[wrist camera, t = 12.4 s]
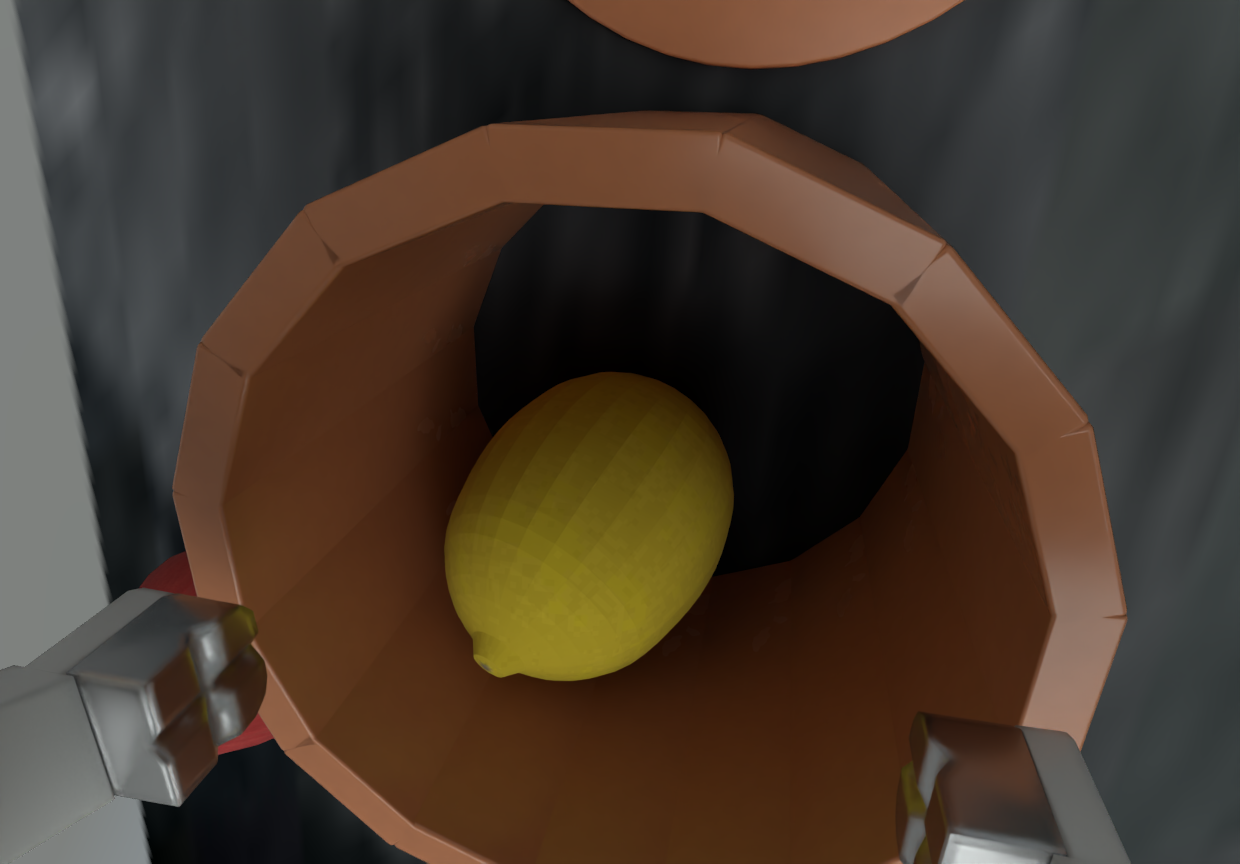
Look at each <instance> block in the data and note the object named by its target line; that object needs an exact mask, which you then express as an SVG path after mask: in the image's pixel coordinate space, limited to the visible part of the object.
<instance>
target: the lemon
mask: <svg viewBox="0 0 1240 864" xmlns="http://www.w3.org/2000/svg"><path fill="white" fill-rule="evenodd" d="M733 504H734V491H733V482H732V473H731V465H730V461H729V458H728V455H727V452H726V450H725V447H724V445H723V442H722V440H721V438H720V436H719V434H718V432H717V430H716V429H715V427H714V426H713V425H712V423H711V422H710V420H709V419H708V417H707V416H706V415H705V413H704V412H703V411H702V410H701V409H700V408H699V407H698V406H697V405H696V404H695V403H694V402H693V401H692V400H690V399H689V398H688V397H686V396H685V395H683V394H682V393H681V392H679V391H678V390H676V389H675V388H673V387H671V386H669V385H667V384H665V383H663V382H661V381H659V380H656V379H653V378H649V377H646V376H642V375H638V374H633V373H622V372H600V373H596V374H591V375H587V376H583V377H579V378H574V379H570V380H568V381H565V382H563V383H561V384H558V385H556V386H555V387H553V388H551V389H549V390H548V391H546V392H545V393H543V394H542V395H540V396H539V397H537V398H536V399H535V400H533V401H532V402H530V403H529V404H528V405H526V406H525V407H524V408H522V409H521V410H520V411H518V412H517V413H516V414H515V415H514V416H513V417H512V418H510V419H509V420H508V421H507V422H506V423H505V424H504V425H503V427H502V428H501V429H500V430H499V431H498V432H497V433H496V434H495V436H494V437H493V438H492V439H491V441H490V442H489V443H488V445H487V446H486V448H485V449H484V451H483V452H482V454H481V455H480V457H479V458H478V460H477V462H476V463H475V465H474V467H473V469H472V470H471V472H470V474H469V476H468V478H467V480H466V482H465V484H464V486H463V488H462V490H461V492H460V494H459V496H458V498H457V501H456V503H455V506H454V508H453V510H452V513H451V516H450V519H449V523H448V526H447V530H446V537H445V544H444V555H445V572H446V579H447V584H448V590H449V593H450V596H451V599H452V602H453V605H454V608H455V610H456V612H457V615H458V617H459V618H460V620H461V622H462V623H463V625H464V627H465V629H466V630H467V632H468V633H469V634H470V636H471V637H472V639H473V656H474V659H475V661H476V662H477V663H478V664H479V665H480V666H481V667H482V668H483V669H484V670H486V671H487V672H489V673H490V674H492V675H494V676H496V677H500V678H502V677H505V676H509V675H513V674H516V673H521V674H524V675H527V676H531V677H535V678H540V679H544V680H553V681H576V680H584V679H590V678H594V677H598V676H601V675H605V674H608V673H612V672H615V671H617V670H620V669H622V668H624V667H626V666H628V665H630V664H632V663H633V662H635V661H636V660H637V659H639V658H640V657H642V656H643V655H645V654H646V653H647V652H648V651H649V650H650V649H651V648H653V647H654V646H655V645H656V644H657V643H658V642H659V641H660V640H661V639H662V638H663V637H664V636H665V635H666V634H667V633H668V632H669V631H670V630H671V629H672V628H673V627H674V626H675V625H676V624H677V623H678V622H679V621H680V620H681V619H682V617H683V616H684V615H685V614H686V613H687V612H688V610H689V609H690V608H691V607H692V606H693V604H694V603H695V602H696V600H697V599H698V598H699V596H700V595H701V593H702V592H703V590H704V589H705V587H706V585H707V584H708V582H709V580H710V578H711V577H712V575H713V573H714V571H715V569H716V567H717V564H718V562H719V559H720V557H721V554H722V551H723V548H724V545H725V542H726V538H727V534H728V531H729V527H730V523H731V518H732V513H733Z"/></svg>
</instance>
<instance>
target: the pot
mask: <svg viewBox="0 0 1240 864" xmlns="http://www.w3.org/2000/svg"><path fill="white" fill-rule="evenodd" d="M543 205H564V206H583V207H603V208H622V209H642V210H661V211H681V212H700V213H704V214H706V215H708V216H711V217H713V218H715V219H717V220H719V221H721V222H723V223H725V224H727V225H729V226H731V227H733V228H735V229H737V230H739V231H741V232H743V233H745V234H747V235H749V236H751V237H753V238H755V239H757V240H759V241H761V242H763V243H765V244H767V245H769V246H771V247H773V248H776V249H778V250H780V251H782V252H784V253H786V254H788V255H790V256H792V257H794V258H796V259H798V260H800V261H802V262H804V263H806V264H808V265H810V266H812V267H814V268H816V269H818V270H820V271H822V272H824V273H826V274H828V275H830V276H832V277H834V278H836V279H839V280H841V281H843V282H845V283H847V284H849V285H851V286H853V287H855V288H857V289H859V290H861V291H863V292H865V293H867V294H869V295H871V296H873V297H875V298H877V299H879V300H881V301H883V302H885V303H887V304H889V305H891V306H892V308H893V309H894V310H895V311H896V312H897V314H898V315H899V316H900V317H901V318H902V320H903V321H904V322H905V323H906V324H907V326H908V327H909V328H910V329H911V330H912V332H913V333H914V334H915V335H916V336H917V338H918V340H919V344H920V348H921V352H922V356H923V360H924V367H923V373H922V378H921V383H920V388H919V393H918V399H917V404H916V409H915V414H914V419H913V425H912V430H911V435H910V440H909V445H908V449H907V451H906V452H905V454H904V455H903V456H902V458H901V459H900V461H899V462H898V464H897V465H896V466H895V468H894V469H893V471H892V472H891V474H890V475H889V476H888V478H887V479H886V481H885V482H884V483H883V485H882V486H881V488H880V489H879V491H878V492H877V493H876V495H875V496H874V498H873V499H872V500H871V502H870V503H869V505H868V506H867V508H866V509H865V510H864V512H863V513H862V515H861V516H860V517H859V518H858V519H856V520H855V521H853V522H851V523H850V524H848V525H847V526H845V527H843V528H842V529H840V530H839V531H837V532H836V533H834V534H832V535H831V536H829V537H828V538H826V539H825V540H823V541H821V542H820V543H818V544H817V545H815V546H813V547H812V548H810V549H809V550H807V551H806V552H804V553H802V554H801V555H799V556H798V557H796V558H794V559H793V560H791V561H787V562H782V563H777V564H772V565H768V566H763V567H758V568H753V569H748V570H743V571H738V572H734V573H729V574H724V575H719V576H714V577H711V578H710V580H709V582H708V584H707V585H706V587H705V589H704V590H703V592H702V593H701V595H700V596H699V598H698V599H697V600H696V602H695V603H694V604H693V606H692V607H691V608H690V609H689V610H688V612H687V613H686V614H685V615H684V616H683V617H682V619H681V620H680V621H679V622H678V623H677V624H676V625H675V626H674V627H673V628H672V629H671V630H670V631H669V632H668V633H667V634H666V635H665V636H664V637H663V638H662V639H661V640H660V641H659V642H658V643H657V644H656V645H655V646H654V647H653V648H651V649H650V650H649V651H648V652H647V653H646V654H645V655H643V656H642V657H640V658H639V659H637V660H636V661H635V662H633V663H632V664H630V665H628V666H626V667H624V668H622V669H620V670H617V671H615V672H612V673H608V674H605V675H601V676H598V677H594V678H590V679H584V680H576V681H553V680H544V679H540V678H535V677H531V676H527V675H524V674H521V673H516V674H513V675H509V676H505V677H502V678H500V677H496V676H494V675H492V674H490V673H489V672H487V671H486V670H484V669H483V668H482V667H481V666H480V665H479V664H478V663H477V662H476V661H475V659H474V656H473V639H472V637H471V636H470V634H469V633H468V632H467V630H466V629H465V627H464V625H463V623H462V622H461V620H460V618H459V617H458V615H457V612H456V610H455V608H454V605H453V602H452V599H451V596H450V593H449V590H448V584H447V579H446V572H445V555H444V544H445V537H446V530H447V526H448V523H449V519H450V516H451V513H452V510H453V508H454V506H455V503H456V501H457V498H458V496H459V494H460V492H461V490H462V488H463V486H464V484H465V482H466V480H467V478H468V476H469V474H470V472H471V470H472V469H473V467H474V465H475V463H476V462H477V460H478V458H479V457H480V455H481V454H482V452H483V451H484V449H485V448H486V446H487V445H488V443H489V442H490V441H491V439H492V438H493V437H492V435H491V432H490V430H489V428H488V426H487V424H486V421H485V419H484V417H483V415H482V413H481V411H480V408H479V406H478V393H477V376H476V358H475V340H474V324H475V321H476V318H477V316H478V313H479V310H480V307H481V304H482V302H483V299H484V296H485V293H486V291H487V288H488V285H489V282H490V279H491V277H492V274H493V271H494V268H495V265H496V263H497V260H498V257H499V254H500V252H501V249H502V247H503V246H504V245H505V244H506V243H507V242H508V241H509V240H510V239H511V238H512V237H513V236H514V235H515V234H516V233H517V232H518V231H519V230H520V229H521V228H522V227H523V226H524V224H525V223H526V222H527V221H528V220H529V219H530V218H531V217H532V216H533V215H534V214H535V213H536V212H537V211H538V210H539V209H540V208H541V207H542V206H543ZM201 341H202V342H200V343H199V345H198V346H197V351H196V356H195V362H194V368H193V373H192V379H191V385H190V390H189V396H188V401H187V407H186V413H185V418H184V424H183V430H182V435H181V441H180V447H179V452H178V458H177V463H176V469H175V475H174V480H173V486H172V488H173V490H174V491H173V499H174V503H175V507H176V512H177V516H178V520H179V524H180V528H181V532H182V536H183V540H184V544H185V549H186V553H187V557H188V561H189V565H190V569H191V573H192V577H193V582H194V586H195V590H196V594H197V597H201V598H206V599H212V600H217V601H223V602H228V603H234V604H239V605H243V606H245V607H247V608H249V609H251V610H252V611H253V612H254V616H255V620H256V623H257V627H258V631H259V633H258V634H257V636H256V637H255V639H254V640H253V642H252V643H251V645H252V646H253V647H254V648H255V649H256V651H257V652H258V653H259V654H260V655H261V657H262V658H263V659H264V660H265V665H266V670H267V687H266V695H265V697H264V699H263V702H262V704H261V706H260V709H259V711H258V714H259V715H260V717H261V718H262V720H263V721H264V723H265V724H266V726H267V727H268V729H269V731H270V732H271V734H272V735H273V737H274V738H275V740H276V741H277V743H278V744H279V746H280V748H281V749H282V750H284V751H285V754H286V755H287V756H288V757H289V758H291V759H292V760H293V761H294V762H295V763H296V764H297V765H299V766H300V767H301V768H302V769H303V770H304V771H306V772H307V773H308V774H309V775H310V776H311V777H312V778H314V779H315V780H316V781H317V782H318V783H319V784H320V785H322V786H323V787H324V788H325V789H326V790H327V791H328V792H330V793H331V794H332V795H333V796H334V797H335V798H337V799H338V800H339V801H340V802H341V803H342V804H343V805H345V806H346V807H347V808H348V809H349V810H350V811H351V812H353V813H354V814H355V815H356V816H357V817H358V818H359V819H361V820H362V821H363V822H364V823H365V824H366V825H368V826H369V827H370V828H371V829H372V830H373V831H374V832H376V833H377V834H378V835H379V836H380V837H381V838H382V839H384V840H385V841H386V842H387V843H388V844H389V845H393V844H394V845H395V846H396V847H397V848H398V849H400V850H402V851H404V852H406V853H408V854H410V855H412V856H414V857H416V858H418V859H420V860H422V861H424V862H426V863H428V864H903V863H902V862H901V861H900V860H899V855H898V848H897V840H896V825H895V810H896V796H897V788H898V783H899V778H900V773H901V768H903V767H904V766H905V765H907V764H908V763H910V762H911V761H912V755H911V750H910V744H909V734H910V730H911V726H912V722H913V719H914V717H915V716H916V714H917V712H918V711H920V712H927V713H933V714H940V715H947V716H953V717H960V718H967V719H973V720H980V721H987V722H993V723H1000V724H1007V725H1012V726H1015V725H1020V726H1027V727H1034V728H1041V729H1048V730H1056V731H1063V732H1067V733H1068V734H1069V735H1070V736H1071V737H1072V738H1073V739H1074V740H1075V742H1076V744H1077V746H1078V748H1079V750H1080V752H1081V749H1082V746H1083V743H1084V740H1085V738H1086V735H1087V732H1088V729H1089V726H1090V723H1091V721H1092V718H1093V715H1094V712H1095V709H1096V707H1097V704H1098V701H1099V698H1100V695H1101V693H1102V690H1103V687H1104V684H1105V681H1106V679H1107V676H1108V673H1109V670H1110V667H1111V664H1112V662H1113V659H1114V656H1115V653H1116V650H1117V648H1118V645H1119V642H1120V639H1121V636H1122V634H1123V631H1124V628H1125V625H1126V622H1127V615H1126V612H1127V606H1126V600H1125V595H1124V590H1123V584H1122V579H1121V573H1120V568H1119V563H1118V557H1117V552H1116V547H1115V541H1114V536H1113V531H1112V525H1111V520H1110V514H1109V509H1108V504H1107V498H1106V493H1105V488H1104V482H1103V477H1102V471H1101V466H1100V461H1099V455H1098V450H1097V445H1096V439H1095V434H1094V429H1093V427H1092V425H1091V424H1090V423H1089V422H1088V416H1087V414H1086V413H1085V412H1084V411H1083V409H1082V408H1081V407H1080V406H1079V404H1078V403H1077V402H1076V401H1075V399H1074V398H1073V397H1072V396H1071V394H1070V393H1069V392H1068V391H1067V389H1066V388H1065V387H1064V386H1063V384H1062V383H1061V382H1060V381H1059V379H1058V378H1057V377H1056V376H1055V374H1054V373H1053V372H1052V371H1051V369H1050V368H1049V367H1048V366H1047V364H1046V363H1045V362H1044V361H1043V359H1042V358H1041V357H1040V356H1039V354H1038V353H1037V352H1036V351H1035V349H1034V348H1033V347H1032V346H1031V344H1030V343H1029V342H1028V341H1027V339H1026V338H1025V337H1024V336H1023V334H1022V333H1021V332H1020V331H1019V329H1018V328H1017V327H1016V326H1015V324H1014V323H1013V322H1012V321H1011V319H1010V318H1009V317H1008V316H1007V314H1006V313H1005V312H1004V311H1003V309H1002V308H1001V307H1000V306H999V304H998V303H997V302H996V301H995V299H994V298H993V297H992V296H991V294H990V293H989V292H988V291H987V289H986V288H985V287H984V286H983V284H982V283H981V282H980V281H979V279H978V278H977V277H976V276H975V274H974V273H973V272H972V271H971V269H970V268H969V267H968V266H967V264H966V263H965V262H964V261H963V259H962V258H961V257H960V256H959V254H958V253H957V252H956V251H955V249H954V248H953V247H952V246H951V245H950V244H949V243H948V242H947V241H945V240H944V239H943V238H942V237H941V236H940V235H939V234H938V233H937V232H936V231H935V230H934V229H933V228H931V227H930V226H929V225H928V224H927V223H926V222H925V221H924V220H923V219H922V218H921V217H920V216H919V215H917V214H916V213H915V212H914V211H913V210H912V209H911V208H910V207H909V206H908V205H907V204H906V203H905V202H903V201H902V200H901V199H900V198H899V197H898V196H897V195H896V194H895V193H894V192H893V191H892V190H891V189H890V188H888V187H887V186H886V185H885V184H884V183H883V182H882V181H881V180H880V179H879V178H878V177H877V176H876V175H874V174H873V173H872V172H871V171H870V170H869V169H868V168H867V167H866V166H865V165H863V164H861V163H859V162H857V161H855V160H853V159H851V158H849V157H847V156H845V155H843V154H841V153H839V152H837V151H835V150H833V149H831V148H829V147H827V146H825V145H823V144H821V143H819V142H817V141H815V140H813V139H811V138H809V137H806V136H804V135H802V134H800V133H798V132H796V131H794V130H792V129H790V128H788V127H786V126H784V125H782V124H780V123H778V122H776V121H774V120H772V119H770V118H768V117H766V116H764V115H759V114H754V113H719V112H683V111H647V110H646V111H634V112H623V113H611V114H599V115H588V116H576V117H564V118H553V119H541V120H529V121H517V122H506V123H494V124H489V125H486V126H480V127H478V128H476V129H474V130H471V131H469V132H467V133H465V134H463V135H460V136H458V137H456V138H454V139H451V140H449V141H447V142H445V143H442V144H440V145H438V146H436V147H433V148H431V149H429V150H427V151H425V152H422V153H420V154H418V155H416V156H413V157H411V158H409V159H407V160H404V161H402V162H400V163H398V164H396V165H393V166H391V167H389V168H387V169H384V170H382V171H380V172H378V173H375V174H373V175H371V176H369V177H366V178H364V179H362V180H360V181H358V182H355V183H353V184H351V185H349V186H346V187H344V188H342V189H340V190H337V191H335V192H333V193H331V194H328V195H326V196H324V197H322V198H320V199H317V200H315V201H313V202H311V203H308V204H307V205H306V206H305V207H304V210H301V211H300V212H299V213H298V214H297V215H296V217H295V218H294V219H293V221H292V222H291V223H290V225H289V226H288V227H287V228H286V230H285V231H284V232H283V234H282V235H281V236H280V237H279V239H278V240H277V241H276V243H275V244H274V245H273V246H272V248H271V249H270V250H269V252H268V253H267V254H266V256H265V257H264V258H263V259H262V261H261V262H260V263H259V265H258V266H257V267H256V268H255V270H254V271H253V272H252V274H251V275H250V276H249V277H248V279H247V280H246V281H245V283H244V284H243V285H242V287H241V288H240V289H239V290H238V292H237V293H236V294H235V296H234V297H233V298H232V299H231V301H230V302H229V303H228V305H227V306H226V307H225V309H224V310H223V311H222V312H221V314H220V315H219V316H218V318H217V319H216V320H215V321H214V323H213V324H212V325H211V327H210V328H209V329H208V330H207V332H206V333H205V334H204V336H203V337H202V340H201Z"/></svg>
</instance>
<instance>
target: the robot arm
mask: <svg viewBox="0 0 1240 864" xmlns="http://www.w3.org/2000/svg"><path fill="white" fill-rule="evenodd" d="M258 633H259V631H258V627H257V623H256V620H255V616H254V612H253V611H252V610H251V609H249V608H247V607H245V606H243V605H239V604H234V603H228V602H223V601H217V600H212V599H206V598H201V597H196V596H190V595H185V594H179V593H175V594H174V593H169V592H164V591H159V590H153V589H148V588H139V589H135V590H130V591H127V592H126V593H124V594H123V595H122V596H120V597H119V598H118V599H116V600H115V601H114V602H112V603H111V604H110V605H108V606H107V607H105V608H104V609H103V610H101V611H100V612H99V613H97V614H96V615H95V616H93V617H92V618H91V619H89V620H88V621H87V622H85V623H84V624H82V625H81V626H80V627H78V628H77V629H76V630H75V631H73V632H72V633H70V634H69V635H68V636H66V637H65V638H63V639H62V640H61V641H59V642H58V643H57V644H55V645H54V646H53V647H51V648H50V649H49V650H47V651H46V652H44V653H43V654H42V655H40V656H39V657H38V658H36V659H35V660H34V661H32V662H31V663H30V664H28V665H27V666H25V667H21V666H15V665H13V666H10V667H7V668H5V669H2V670H0V864H9V863H11V862H13V861H14V860H16V859H18V858H19V857H21V856H23V855H24V854H26V853H28V852H29V851H31V850H32V849H34V848H36V847H37V846H39V845H41V844H42V843H44V842H46V841H47V840H49V839H50V838H52V837H54V836H55V835H57V834H59V833H60V832H62V831H64V830H65V829H67V828H69V827H70V826H72V825H73V824H75V823H77V822H78V821H80V820H82V819H83V818H85V817H87V816H88V815H90V814H92V813H93V812H95V811H96V810H98V809H100V808H101V807H103V806H105V805H106V804H108V803H109V802H111V801H113V800H114V799H115V797H114V795H116V796H121V797H127V798H133V799H138V800H144V801H150V802H155V803H161V804H167V805H172V806H178V807H179V806H180V805H181V804H182V803H183V802H184V800H185V799H186V798H187V797H188V796H189V795H190V794H191V792H192V791H193V790H194V789H195V788H196V787H197V785H198V784H199V783H200V782H201V781H202V780H203V779H204V777H205V776H206V775H207V774H208V773H209V772H210V770H211V769H212V768H213V767H214V766H215V765H216V764H217V761H218V746H220V745H222V744H224V743H226V742H228V741H230V740H232V739H234V738H236V737H237V736H239V735H241V734H242V733H243V732H244V731H245V730H246V728H247V727H248V726H249V725H250V723H251V722H252V721H253V720H254V719H255V717H256V716H257V714H258V711H259V709H260V706H261V704H262V702H263V699H264V697H265V695H266V687H267V670H266V665H265V660H264V659H263V658H262V657H261V655H260V654H259V653H258V652H257V651H256V649H255V648H254V647H253V646H252V645H251V643H252V642H253V640H254V639H255V637H256V636H257V634H258ZM909 744H910V750H911V755H912V761H911V762H910V763H908V764H907V765H905V766H904V767H903V768H901V773H900V778H899V783H898V788H897V796H896V810H895V825H896V840H897V848H898V855H899V860H900V861H901V862H902V863H903V864H1131V862H1130V860H1129V858H1128V856H1127V853H1126V851H1125V849H1124V847H1123V845H1122V843H1121V840H1120V838H1119V836H1118V834H1117V832H1116V829H1115V827H1114V825H1113V823H1112V821H1111V818H1110V816H1109V814H1108V812H1107V810H1106V807H1105V805H1104V803H1103V801H1102V799H1101V797H1100V794H1099V792H1098V790H1097V788H1096V786H1095V783H1094V781H1093V779H1092V777H1091V775H1090V772H1089V770H1088V768H1087V766H1086V764H1085V761H1084V759H1083V757H1082V755H1081V753H1080V750H1079V748H1078V746H1077V744H1076V742H1075V740H1074V739H1073V738H1072V737H1071V736H1070V735H1069V734H1068V733H1067V732H1063V731H1056V730H1048V729H1041V728H1034V727H1027V726H1020V725H1015V726H1012V725H1007V724H1000V723H993V722H987V721H980V720H973V719H967V718H960V717H953V716H947V715H940V714H933V713H927V712H920V711H918V712H917V714H916V716H915V717H914V719H913V722H912V726H911V730H910V734H909Z"/></svg>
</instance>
